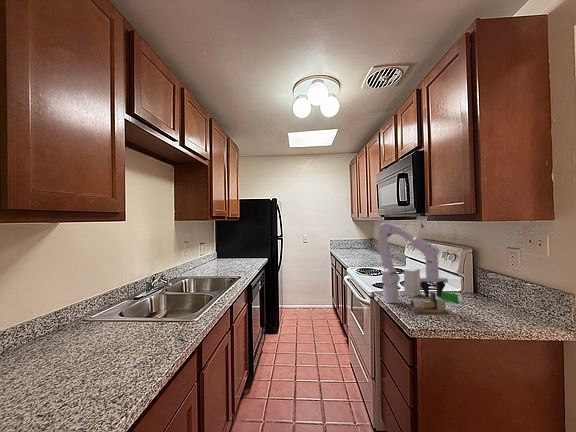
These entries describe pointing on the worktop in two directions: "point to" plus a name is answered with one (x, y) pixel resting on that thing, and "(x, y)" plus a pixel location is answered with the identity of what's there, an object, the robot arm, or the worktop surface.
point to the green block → (449, 296)
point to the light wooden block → (432, 302)
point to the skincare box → (411, 282)
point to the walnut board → (427, 310)
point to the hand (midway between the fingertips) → (432, 296)
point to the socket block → (440, 303)
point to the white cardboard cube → (417, 303)
